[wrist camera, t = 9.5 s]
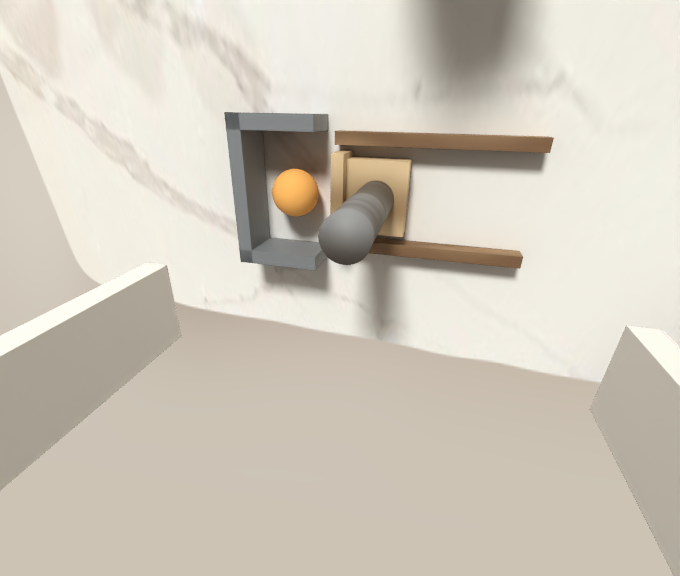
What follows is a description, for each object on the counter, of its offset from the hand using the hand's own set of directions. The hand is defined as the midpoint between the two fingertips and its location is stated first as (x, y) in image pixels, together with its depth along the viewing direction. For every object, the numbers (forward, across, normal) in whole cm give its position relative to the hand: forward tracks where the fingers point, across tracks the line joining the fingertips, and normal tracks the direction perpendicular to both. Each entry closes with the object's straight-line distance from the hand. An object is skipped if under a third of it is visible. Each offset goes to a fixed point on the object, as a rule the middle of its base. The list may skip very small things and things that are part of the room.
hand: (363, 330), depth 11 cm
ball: (+21, -10, 0) cm, 23 cm away
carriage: (+23, -3, 0) cm, 23 cm away
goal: (+23, -11, 0) cm, 25 cm away
